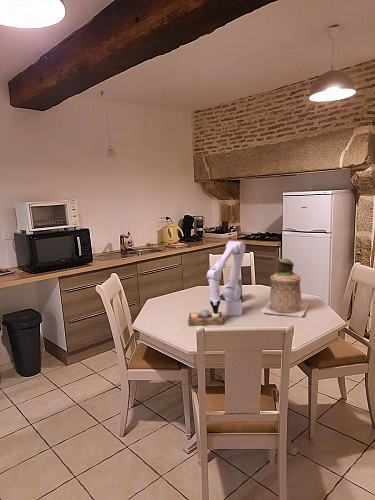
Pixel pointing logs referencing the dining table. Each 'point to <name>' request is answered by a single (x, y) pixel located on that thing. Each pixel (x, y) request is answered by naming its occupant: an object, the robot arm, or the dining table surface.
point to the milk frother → (234, 288)
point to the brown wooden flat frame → (205, 320)
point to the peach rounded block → (194, 315)
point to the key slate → (205, 314)
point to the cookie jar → (285, 292)
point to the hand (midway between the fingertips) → (215, 313)
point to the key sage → (215, 315)
